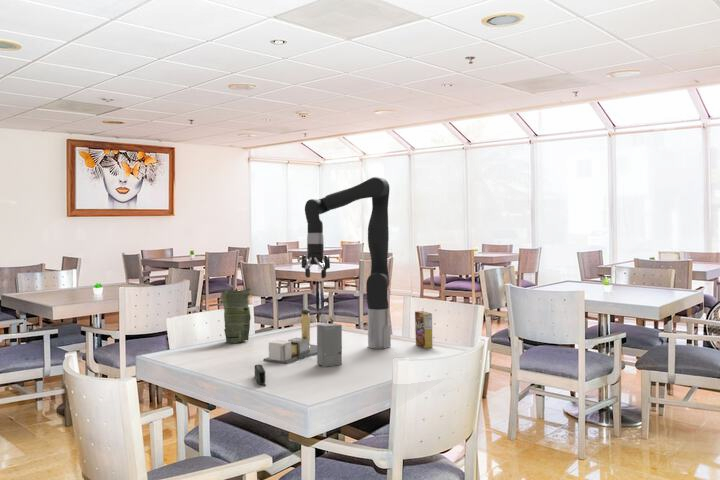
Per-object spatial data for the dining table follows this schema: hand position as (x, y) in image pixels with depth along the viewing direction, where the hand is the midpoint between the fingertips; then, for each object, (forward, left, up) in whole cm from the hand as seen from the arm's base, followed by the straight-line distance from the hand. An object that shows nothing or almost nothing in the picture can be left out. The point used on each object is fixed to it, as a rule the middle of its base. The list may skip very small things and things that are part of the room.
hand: (315, 277), depth 278 cm
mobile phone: (-21, +66, -30) cm, 75 cm away
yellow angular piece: (-8, +28, -29) cm, 41 cm away
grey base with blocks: (-8, +24, -30) cm, 39 cm away
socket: (-8, +37, -29) cm, 48 cm away
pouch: (+35, +15, -30) cm, 49 cm away
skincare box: (-29, +33, -30) cm, 53 cm away
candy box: (-47, -16, -30) cm, 58 cm away
